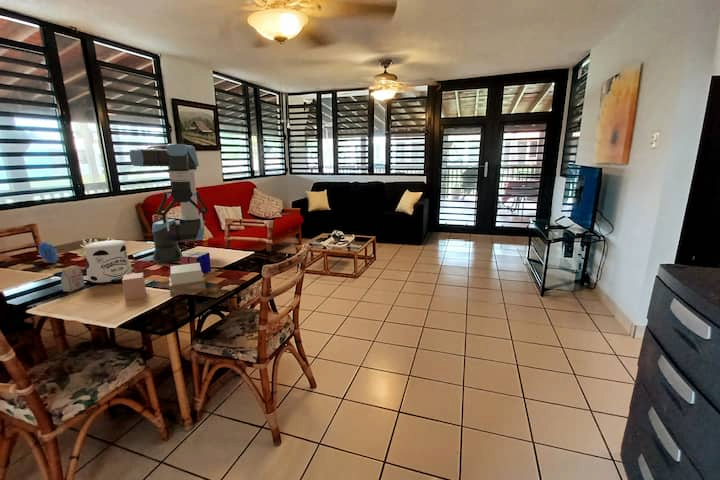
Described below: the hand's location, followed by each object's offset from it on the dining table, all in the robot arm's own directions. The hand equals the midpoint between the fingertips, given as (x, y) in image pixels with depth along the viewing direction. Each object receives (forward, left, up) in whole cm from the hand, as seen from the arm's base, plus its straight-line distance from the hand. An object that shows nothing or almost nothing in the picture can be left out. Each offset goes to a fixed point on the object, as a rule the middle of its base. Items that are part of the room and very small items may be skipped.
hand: (185, 229), depth 150 cm
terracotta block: (+2, -22, -27) cm, 35 cm away
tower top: (+2, -2, -22) cm, 23 cm away
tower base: (+2, -2, -27) cm, 28 cm away
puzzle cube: (-19, +3, -27) cm, 33 cm away
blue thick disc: (-72, -68, -27) cm, 102 cm away
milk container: (-26, -34, -27) cm, 50 cm away
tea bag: (-20, -47, -27) cm, 58 cm away
